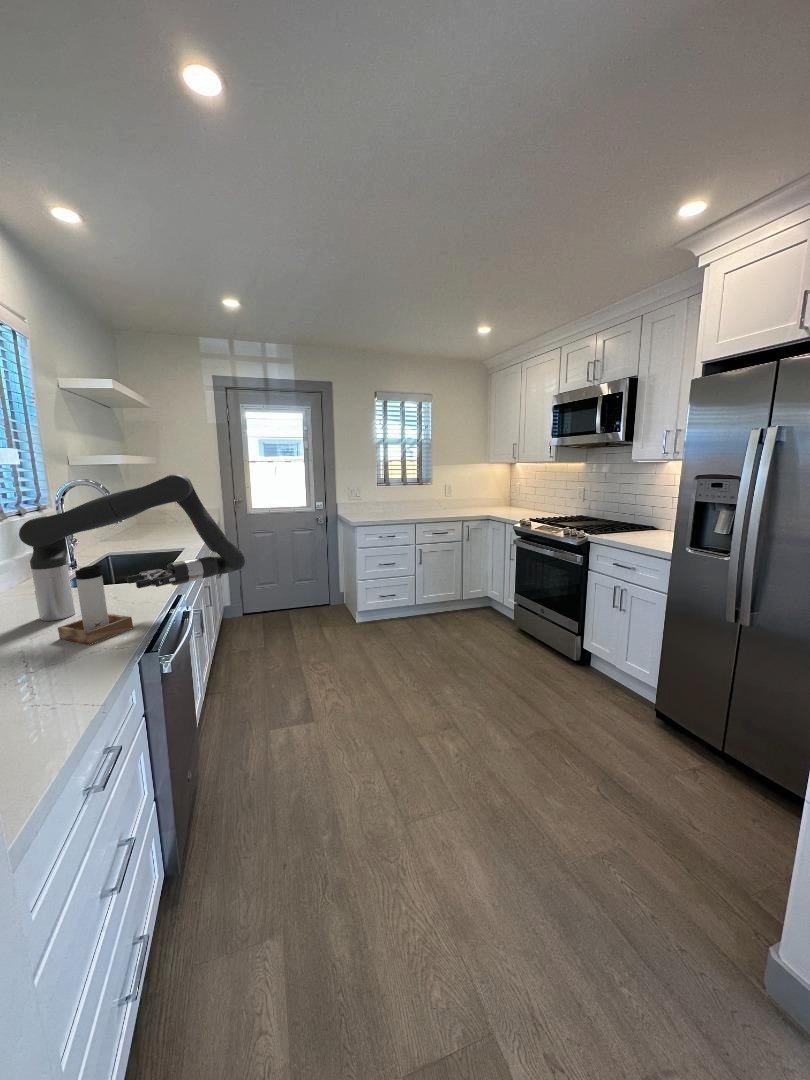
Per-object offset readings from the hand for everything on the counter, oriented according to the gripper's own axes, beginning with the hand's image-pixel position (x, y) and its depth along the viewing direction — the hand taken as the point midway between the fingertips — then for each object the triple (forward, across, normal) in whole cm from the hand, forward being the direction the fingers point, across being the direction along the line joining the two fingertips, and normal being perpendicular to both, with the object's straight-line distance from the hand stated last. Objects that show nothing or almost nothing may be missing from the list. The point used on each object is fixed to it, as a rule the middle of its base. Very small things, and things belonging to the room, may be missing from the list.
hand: (131, 582), depth 137 cm
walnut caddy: (+11, 0, +13) cm, 17 cm away
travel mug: (+11, 0, +13) cm, 17 cm away
